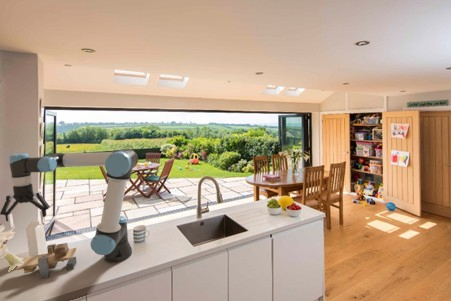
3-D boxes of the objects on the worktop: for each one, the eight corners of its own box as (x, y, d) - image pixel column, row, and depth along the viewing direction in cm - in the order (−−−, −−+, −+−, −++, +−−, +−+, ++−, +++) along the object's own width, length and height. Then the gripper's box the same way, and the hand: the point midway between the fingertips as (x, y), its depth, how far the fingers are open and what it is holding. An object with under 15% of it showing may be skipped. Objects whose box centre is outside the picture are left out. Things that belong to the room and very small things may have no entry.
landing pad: (76, 262, 140) (76, 256, 139) (73, 269, 133) (72, 263, 133) (70, 263, 139) (69, 257, 138) (67, 270, 132) (66, 264, 132)
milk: (38, 254, 150) (34, 219, 147) (47, 254, 149) (43, 219, 146) (29, 259, 144) (24, 223, 141) (38, 260, 143) (34, 223, 140)
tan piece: (77, 256, 141) (75, 241, 140) (72, 267, 131) (70, 251, 130) (27, 266, 134) (24, 251, 133) (17, 279, 123) (14, 262, 122)
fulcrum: (57, 262, 140) (55, 243, 139) (48, 278, 126) (46, 257, 125) (50, 263, 139) (48, 245, 138) (40, 279, 125) (37, 259, 124)
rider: (68, 251, 137) (67, 242, 136) (66, 255, 132) (64, 247, 131) (58, 253, 135) (56, 244, 135) (55, 258, 131) (53, 249, 130)
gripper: (53, 180, 132) (58, 218, 135) (-5, 185, 124) (1, 225, 127) (49, 183, 125) (53, 223, 127) (-13, 189, 117) (-7, 231, 120)
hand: (27, 224), depth 127 cm, fingers open, 13 cm apart
